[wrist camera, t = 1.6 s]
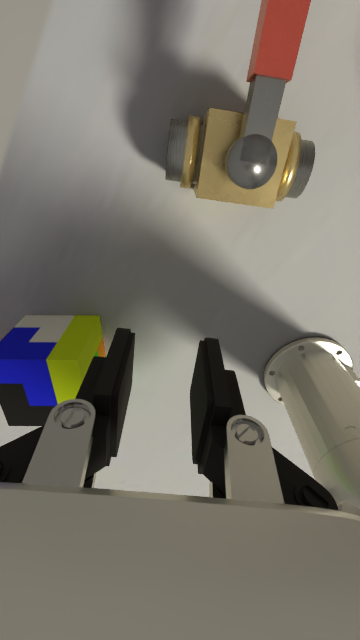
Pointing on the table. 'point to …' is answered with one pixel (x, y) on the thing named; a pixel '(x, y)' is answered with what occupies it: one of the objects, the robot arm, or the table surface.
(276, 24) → the lever
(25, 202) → the table surface
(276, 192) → the valve
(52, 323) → the puzzle toy
